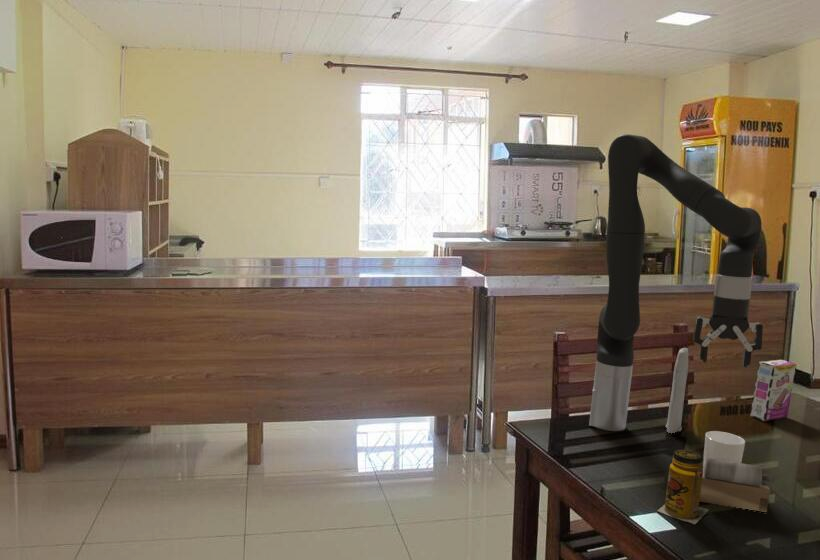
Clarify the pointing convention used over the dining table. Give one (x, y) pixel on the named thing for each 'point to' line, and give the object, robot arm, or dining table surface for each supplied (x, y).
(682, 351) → the tall pale column
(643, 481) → the dining table surface
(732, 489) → the bay
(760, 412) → the candy bar box
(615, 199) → the robot arm
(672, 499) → the condiment
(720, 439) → the white cup
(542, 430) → the dining table surface
